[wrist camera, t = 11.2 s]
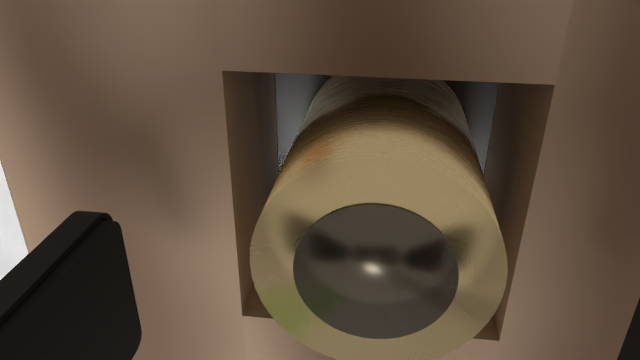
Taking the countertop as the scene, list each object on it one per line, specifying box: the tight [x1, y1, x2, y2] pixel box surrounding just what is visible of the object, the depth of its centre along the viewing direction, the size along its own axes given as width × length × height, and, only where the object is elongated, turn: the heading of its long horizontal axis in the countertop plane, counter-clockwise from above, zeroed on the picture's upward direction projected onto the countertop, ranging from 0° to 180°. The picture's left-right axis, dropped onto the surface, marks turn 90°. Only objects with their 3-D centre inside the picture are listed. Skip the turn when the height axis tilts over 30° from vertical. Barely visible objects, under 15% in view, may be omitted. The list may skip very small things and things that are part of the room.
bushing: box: [250, 75, 508, 360], centre depth 13 cm, size 5×5×7 cm
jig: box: [0, 0, 640, 360], centre depth 14 cm, size 18×18×5 cm
